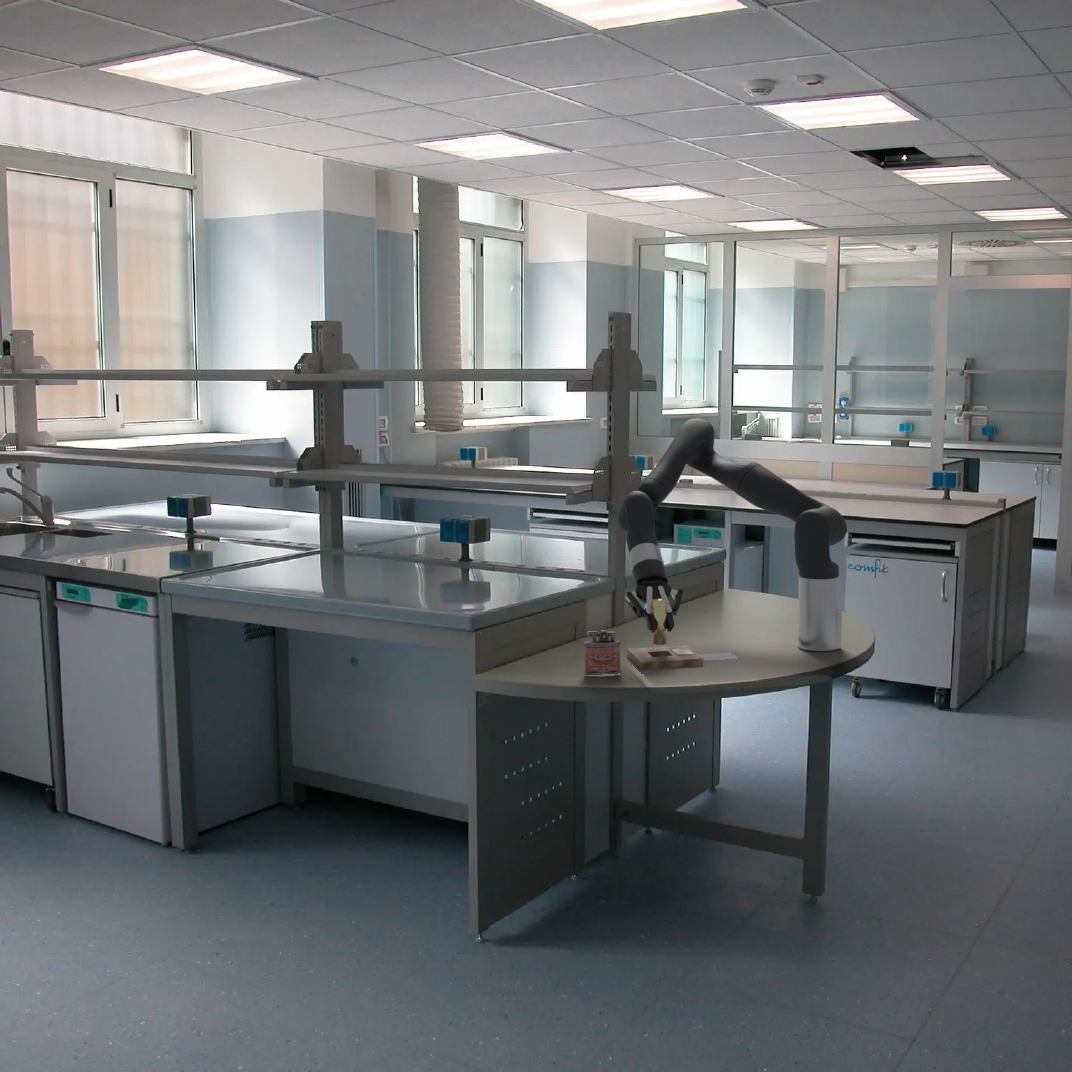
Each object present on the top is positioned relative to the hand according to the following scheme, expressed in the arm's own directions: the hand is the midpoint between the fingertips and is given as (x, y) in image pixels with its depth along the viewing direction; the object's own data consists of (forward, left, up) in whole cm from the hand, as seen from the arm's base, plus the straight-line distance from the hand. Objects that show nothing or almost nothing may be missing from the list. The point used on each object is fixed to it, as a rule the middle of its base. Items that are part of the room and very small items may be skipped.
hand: (661, 629), depth 249 cm
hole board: (-1, -2, -9) cm, 9 cm away
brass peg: (0, -2, -3) cm, 4 cm away
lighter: (+14, +2, -9) cm, 17 cm away
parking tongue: (-14, -2, -9) cm, 16 cm away
